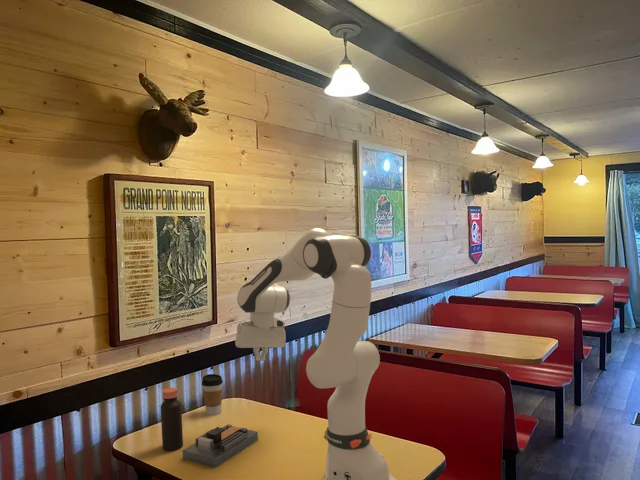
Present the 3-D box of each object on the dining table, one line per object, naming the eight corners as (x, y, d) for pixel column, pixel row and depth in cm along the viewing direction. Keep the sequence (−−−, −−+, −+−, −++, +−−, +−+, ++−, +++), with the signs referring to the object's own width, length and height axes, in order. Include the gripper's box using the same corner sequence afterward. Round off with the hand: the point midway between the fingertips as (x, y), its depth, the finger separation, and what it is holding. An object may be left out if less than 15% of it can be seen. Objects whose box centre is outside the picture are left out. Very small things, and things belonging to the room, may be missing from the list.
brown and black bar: (232, 417, 174) (203, 434, 161) (241, 419, 172) (212, 436, 159) (233, 429, 174) (204, 446, 161) (242, 431, 172) (213, 448, 159)
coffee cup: (214, 407, 205) (212, 372, 204) (228, 411, 200) (226, 375, 199) (198, 414, 198) (197, 377, 197) (213, 418, 193) (211, 381, 192)
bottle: (170, 441, 173) (168, 386, 173) (187, 443, 171) (184, 387, 170) (158, 450, 167) (155, 392, 166) (175, 452, 165) (172, 394, 164)
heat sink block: (227, 432, 179) (226, 415, 179) (257, 440, 172) (257, 421, 172) (182, 459, 160) (181, 439, 160) (215, 468, 153) (214, 447, 153)
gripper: (242, 321, 170) (240, 361, 168) (288, 322, 183) (287, 360, 181) (233, 321, 175) (230, 360, 172) (278, 322, 188) (277, 359, 186)
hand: (260, 360), depth 177 cm, fingers closed
